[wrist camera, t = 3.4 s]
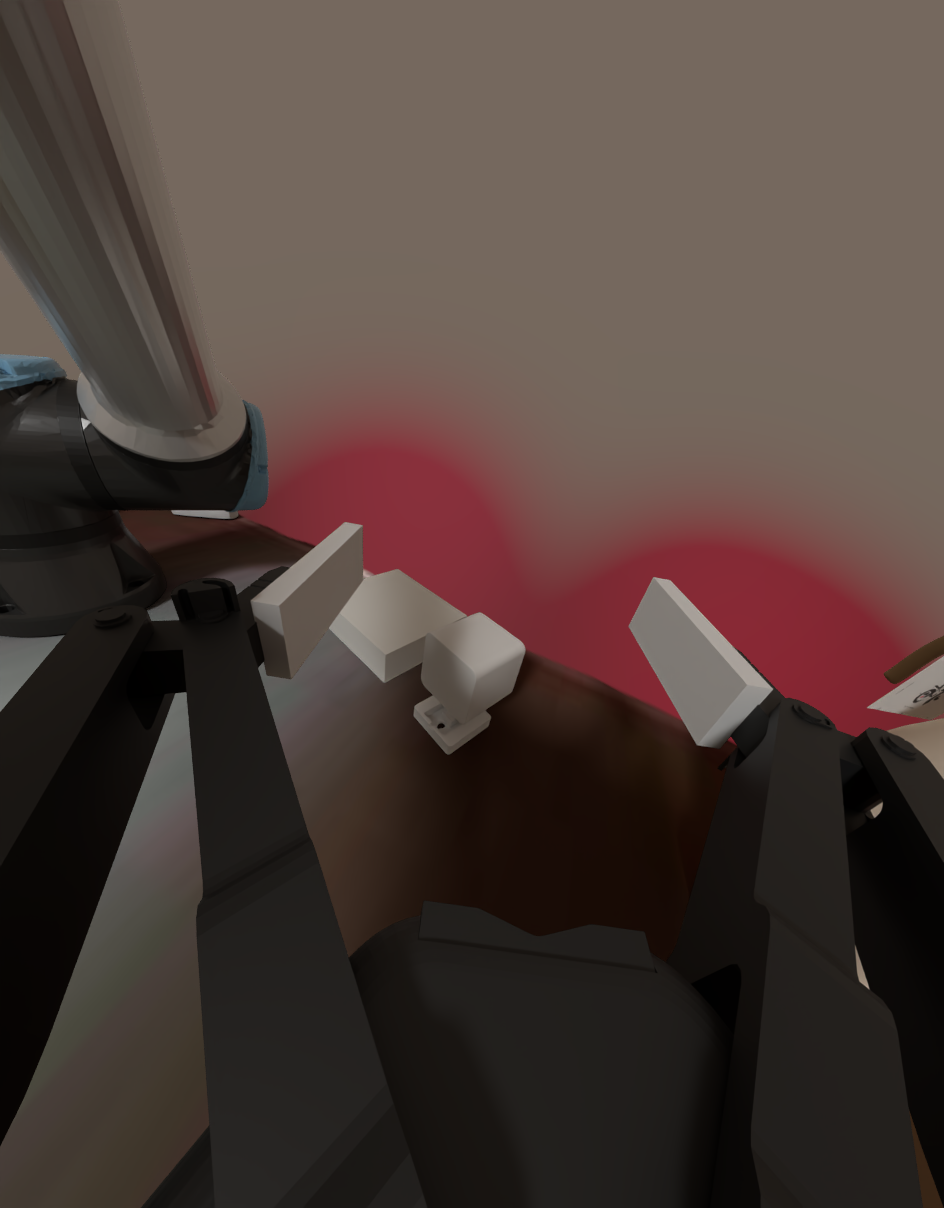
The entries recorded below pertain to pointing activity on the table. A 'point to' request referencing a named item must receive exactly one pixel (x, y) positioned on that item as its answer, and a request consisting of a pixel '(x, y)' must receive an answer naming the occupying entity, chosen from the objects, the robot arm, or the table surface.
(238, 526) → the table surface
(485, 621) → the security camera
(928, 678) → the water bottle
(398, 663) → the plinth
